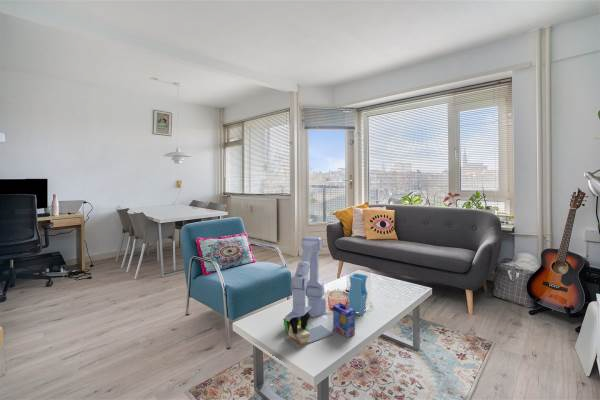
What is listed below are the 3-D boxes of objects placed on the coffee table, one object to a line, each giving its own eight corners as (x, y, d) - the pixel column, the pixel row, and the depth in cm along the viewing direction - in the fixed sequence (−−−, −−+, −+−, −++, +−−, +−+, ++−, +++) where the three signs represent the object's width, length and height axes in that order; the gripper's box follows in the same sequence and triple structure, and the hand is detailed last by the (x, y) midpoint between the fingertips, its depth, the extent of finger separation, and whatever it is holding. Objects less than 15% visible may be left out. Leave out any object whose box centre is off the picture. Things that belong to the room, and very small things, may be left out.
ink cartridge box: (332, 329, 143) (332, 300, 142) (340, 325, 147) (340, 297, 146) (347, 338, 136) (347, 308, 134) (355, 334, 139) (355, 304, 138)
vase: (360, 315, 157) (361, 279, 155) (347, 311, 162) (348, 276, 160) (367, 310, 163) (367, 275, 161) (354, 306, 168) (354, 272, 166)
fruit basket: (299, 309, 150) (311, 310, 141) (303, 327, 149) (315, 329, 139) (280, 316, 144) (292, 317, 135) (284, 335, 142) (296, 338, 133)
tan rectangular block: (308, 341, 132) (309, 333, 132) (301, 344, 129) (302, 335, 129) (295, 332, 138) (296, 324, 138) (288, 334, 135) (289, 326, 135)
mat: (321, 325, 147) (321, 324, 147) (333, 334, 139) (333, 333, 139) (284, 338, 135) (284, 337, 135) (295, 348, 127) (295, 347, 127)
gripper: (304, 295, 140) (304, 322, 141) (281, 304, 130) (281, 333, 132) (315, 299, 135) (315, 327, 136) (291, 309, 125) (291, 339, 126)
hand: (299, 330), depth 134 cm, fingers closed on tan rectangular block, 5 cm apart
